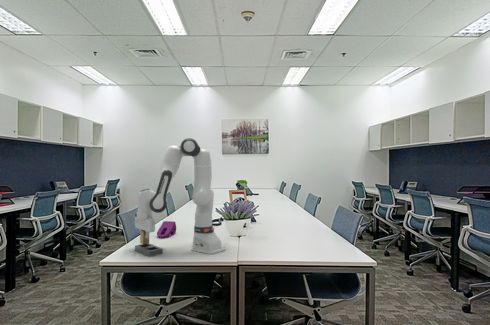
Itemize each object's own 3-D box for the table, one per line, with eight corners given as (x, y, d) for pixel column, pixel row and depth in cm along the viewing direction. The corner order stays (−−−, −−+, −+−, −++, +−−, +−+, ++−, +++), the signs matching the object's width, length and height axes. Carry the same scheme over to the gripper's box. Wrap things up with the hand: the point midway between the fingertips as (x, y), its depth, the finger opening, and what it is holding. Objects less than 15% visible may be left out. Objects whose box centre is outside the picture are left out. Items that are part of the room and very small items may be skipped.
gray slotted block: (162, 253, 186) (162, 248, 186) (148, 256, 180) (148, 251, 180) (148, 247, 199) (148, 242, 199) (134, 250, 192) (134, 245, 192)
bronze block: (149, 243, 192) (149, 230, 192) (143, 244, 190) (143, 231, 190) (146, 242, 195) (146, 229, 195) (140, 243, 193) (140, 230, 192)
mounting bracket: (169, 245, 225) (176, 230, 241) (167, 236, 221) (175, 221, 238) (156, 245, 226) (165, 229, 242) (154, 236, 223) (163, 221, 239)
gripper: (157, 216, 187) (157, 239, 187) (142, 212, 202) (142, 233, 202) (148, 217, 183) (148, 240, 183) (132, 213, 197) (132, 235, 197)
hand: (144, 237), depth 193 cm, fingers closed on bronze block, 4 cm apart
